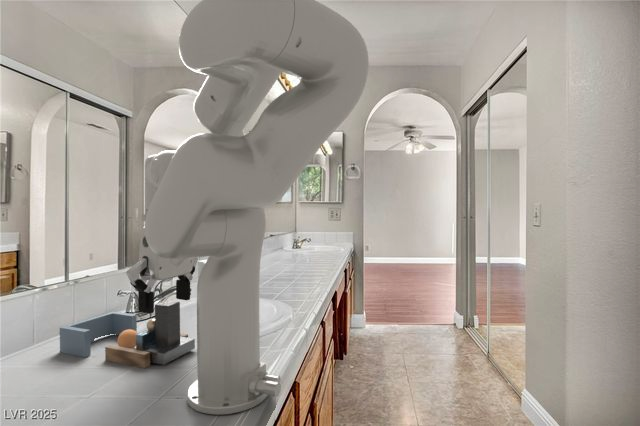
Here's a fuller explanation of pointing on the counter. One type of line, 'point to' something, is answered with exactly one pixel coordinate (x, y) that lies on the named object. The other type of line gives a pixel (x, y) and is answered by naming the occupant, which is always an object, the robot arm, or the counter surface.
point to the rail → (129, 355)
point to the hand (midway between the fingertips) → (165, 305)
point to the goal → (94, 331)
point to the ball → (127, 339)
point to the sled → (164, 335)
